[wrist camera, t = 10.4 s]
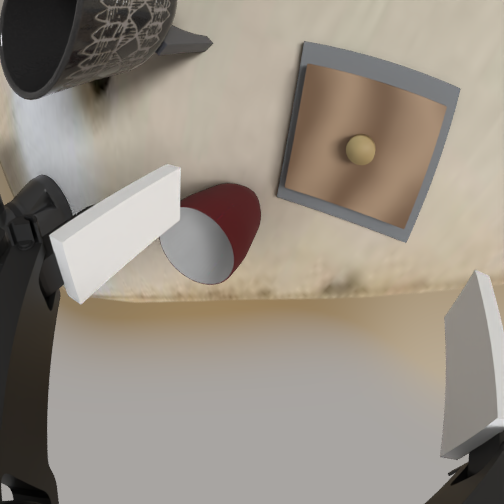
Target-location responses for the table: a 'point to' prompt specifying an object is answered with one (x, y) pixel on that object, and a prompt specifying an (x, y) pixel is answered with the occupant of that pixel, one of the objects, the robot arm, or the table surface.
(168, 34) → the planter
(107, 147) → the table surface
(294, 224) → the table surface
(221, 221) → the mug
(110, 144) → the table surface
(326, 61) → the mat
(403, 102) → the lid
